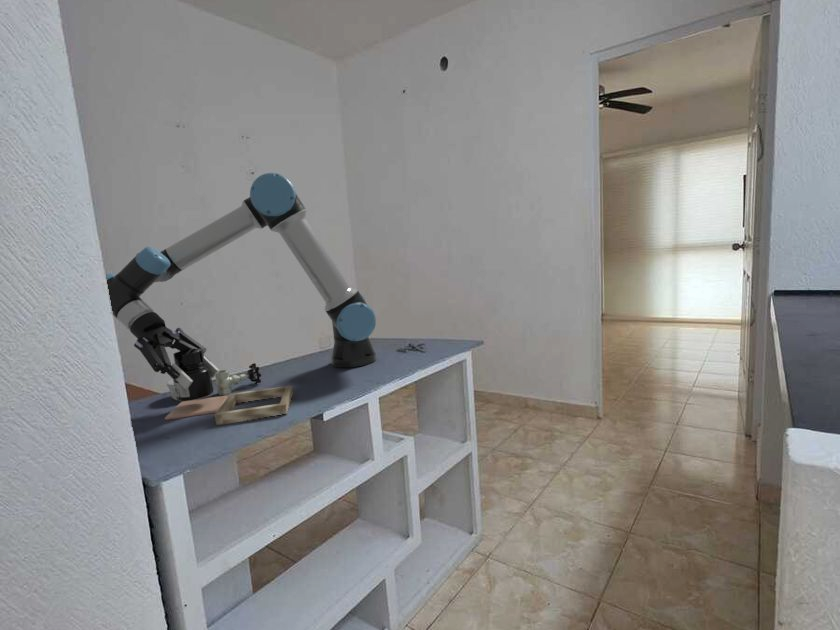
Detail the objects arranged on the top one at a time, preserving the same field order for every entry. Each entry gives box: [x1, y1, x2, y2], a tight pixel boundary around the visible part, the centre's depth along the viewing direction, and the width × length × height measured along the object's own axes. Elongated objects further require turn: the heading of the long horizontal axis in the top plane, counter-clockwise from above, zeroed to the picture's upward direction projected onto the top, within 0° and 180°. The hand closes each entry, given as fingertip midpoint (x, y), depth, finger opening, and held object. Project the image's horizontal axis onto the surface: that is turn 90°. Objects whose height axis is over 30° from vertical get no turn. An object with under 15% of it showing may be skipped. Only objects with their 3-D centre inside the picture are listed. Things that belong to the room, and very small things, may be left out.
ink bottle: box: [172, 349, 214, 402], centre depth 113 cm, size 10×9×12 cm
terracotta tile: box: [164, 394, 229, 421], centre depth 115 cm, size 12×12×1 cm
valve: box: [214, 363, 262, 396], centre depth 128 cm, size 7×7×12 cm
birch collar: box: [214, 384, 294, 426], centre depth 110 cm, size 16×16×2 cm
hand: (203, 379), depth 113 cm, fingers closed on ink bottle, 9 cm apart
